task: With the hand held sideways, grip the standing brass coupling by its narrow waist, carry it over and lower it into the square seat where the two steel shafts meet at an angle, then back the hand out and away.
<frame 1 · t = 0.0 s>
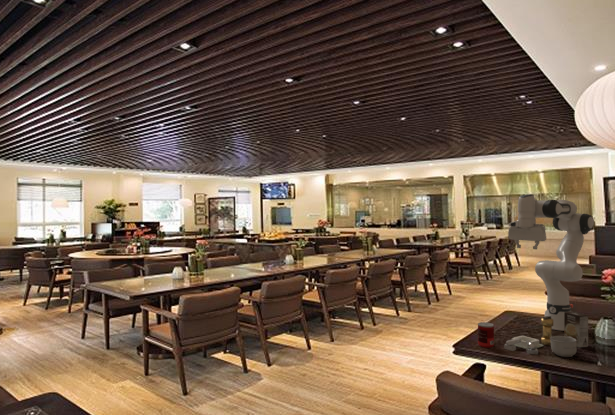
hand: (526, 248, 235), 48 cm above the table, tool pointing down, fingers open, 8 cm apart
coupling seat: (525, 345, 218), on the table
teacup: (565, 355, 204), on the table
coffee box: (576, 344, 219), on the table
shaft b: (530, 346, 209), on the table
coupling: (547, 344, 220), on the table
canned food: (485, 346, 218), on the table
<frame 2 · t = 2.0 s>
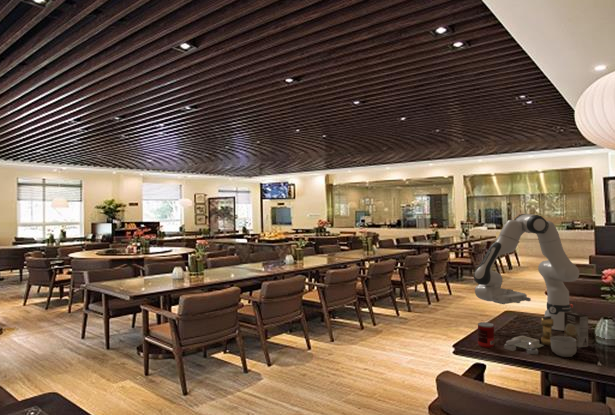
hand: (524, 300, 230), 20 cm above the table, tool horizontal, fingers open, 8 cm apart
nothing on the table moved.
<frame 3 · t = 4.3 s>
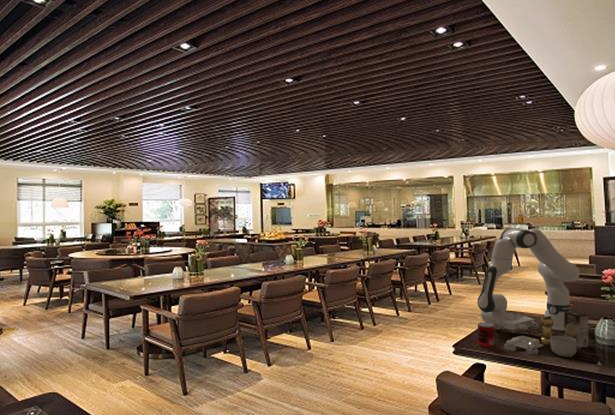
hand: (532, 326, 226), 7 cm above the table, tool horizontal, fingers open, 8 cm apart
nothing on the table moved.
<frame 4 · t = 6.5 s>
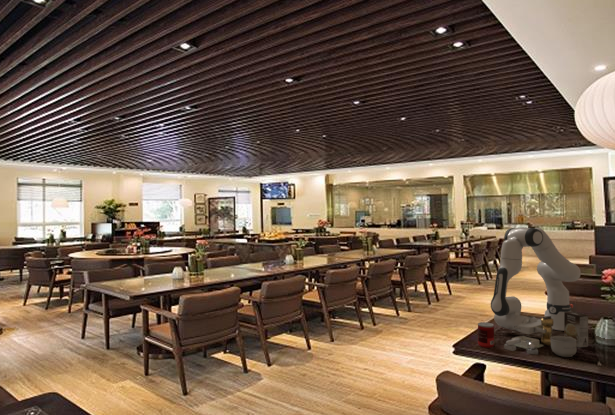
hand: (549, 330, 219), 7 cm above the table, tool horizontal, fingers closed on coupling, 4 cm apart
coupling: (547, 344, 220), on the table, touching gripper
everything else where it was.
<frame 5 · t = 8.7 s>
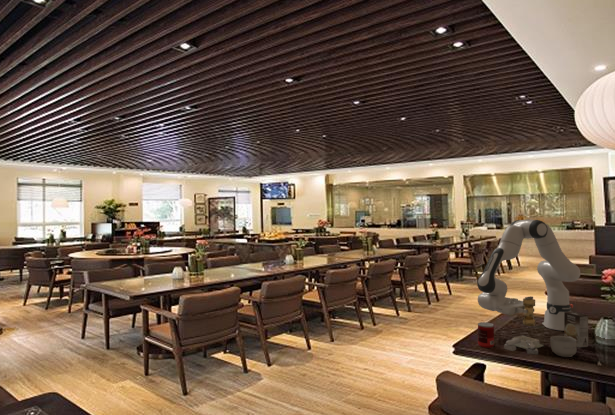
hand: (530, 311, 218), 18 cm above the table, tool horizontal, fingers closed on coupling, 4 cm apart
coupling: (528, 324, 218), point 10 cm above the table, touching gripper
everything else where it was.
when the fingers open (9 cm above the table, at t = 11.1 s): coupling drops 1 cm, resting on coupling seat.
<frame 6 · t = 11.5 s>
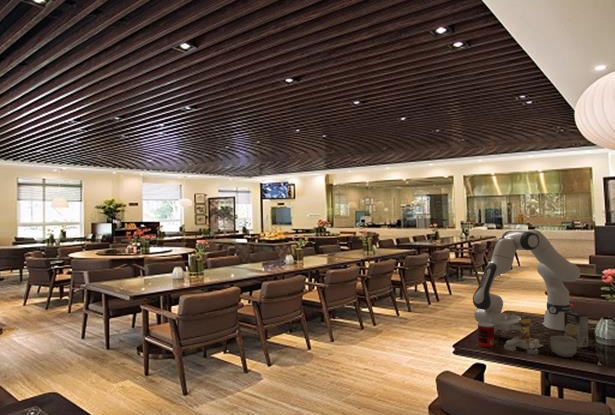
hand: (527, 327, 217), 9 cm above the table, tool horizontal, fingers open, 8 cm apart
coupling: (525, 343, 218), point 1 cm above the table, touching coupling seat
everything else where it was.
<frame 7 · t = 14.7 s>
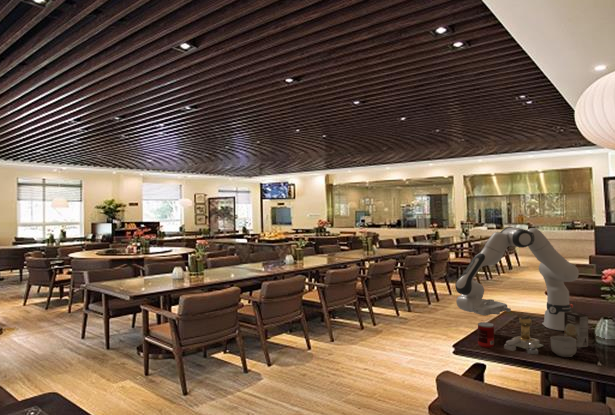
hand: (504, 311, 229), 15 cm above the table, tool horizontal, fingers open, 8 cm apart
nothing on the table moved.
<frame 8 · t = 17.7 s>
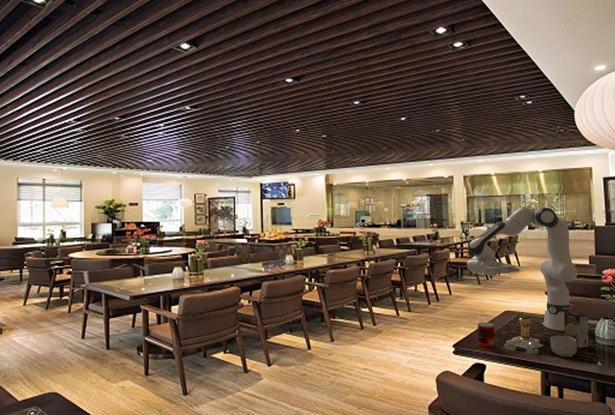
hand: (513, 270, 240), 35 cm above the table, tool horizontal, fingers open, 8 cm apart
nothing on the table moved.
at the end: coupling 0.1 cm off-centre on the coupling seat, point 0.5 cm above the coupling seat's base; coupling tilted 0°; the gripper is holding nothing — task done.
